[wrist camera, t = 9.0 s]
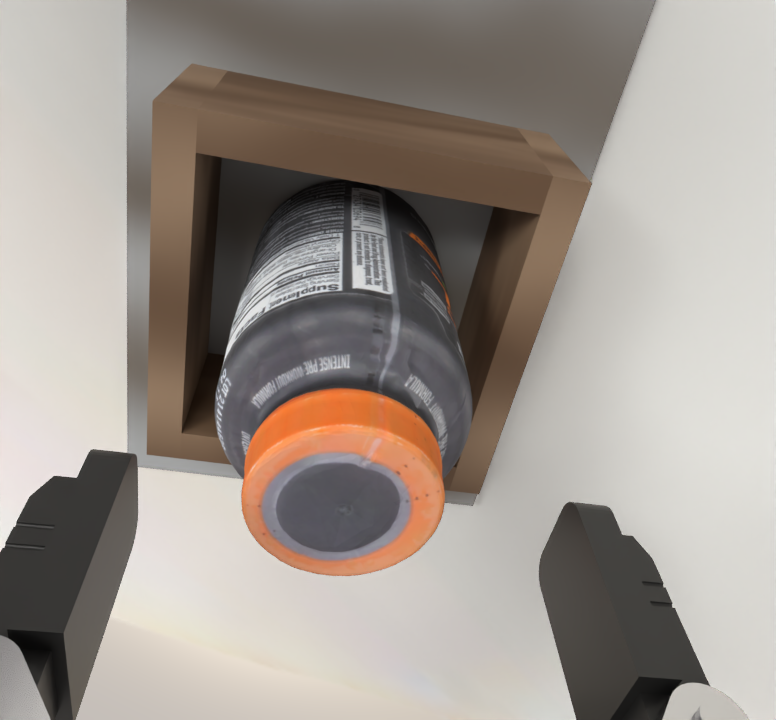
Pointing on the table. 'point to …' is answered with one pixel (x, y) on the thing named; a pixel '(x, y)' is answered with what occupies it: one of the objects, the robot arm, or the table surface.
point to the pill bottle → (343, 382)
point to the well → (356, 174)
